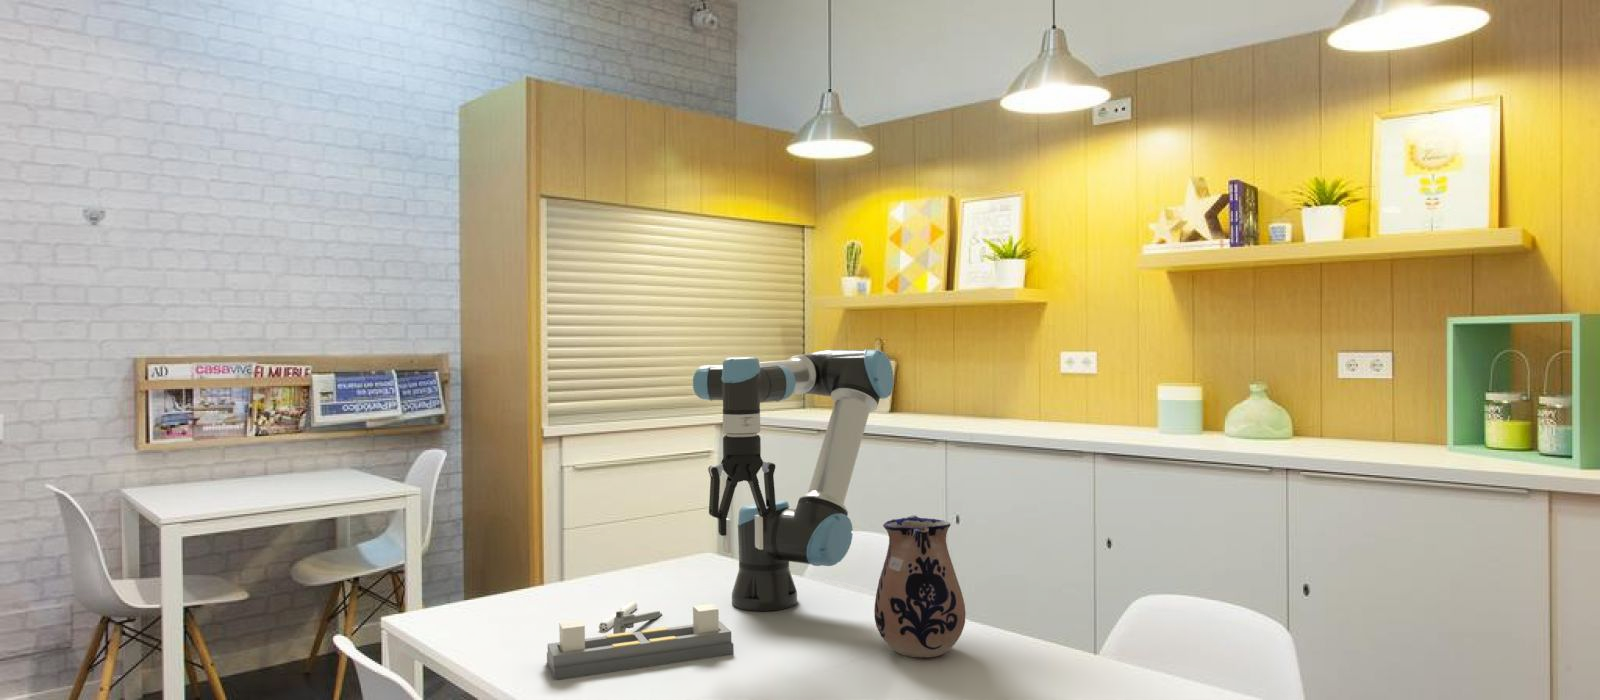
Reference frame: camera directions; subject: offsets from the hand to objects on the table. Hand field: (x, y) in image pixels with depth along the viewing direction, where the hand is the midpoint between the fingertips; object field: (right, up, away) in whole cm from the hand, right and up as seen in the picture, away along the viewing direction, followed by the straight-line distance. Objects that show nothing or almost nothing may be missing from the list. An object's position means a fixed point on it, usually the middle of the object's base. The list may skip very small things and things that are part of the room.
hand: (743, 549), depth 191 cm
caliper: (-23, -20, +11) cm, 32 cm away
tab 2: (-7, -17, -3) cm, 19 cm away
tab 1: (-31, -17, -13) cm, 38 cm away
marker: (-28, -20, +19) cm, 39 cm away
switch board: (-19, -19, -8) cm, 28 cm away
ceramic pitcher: (+34, -19, -4) cm, 39 cm away
